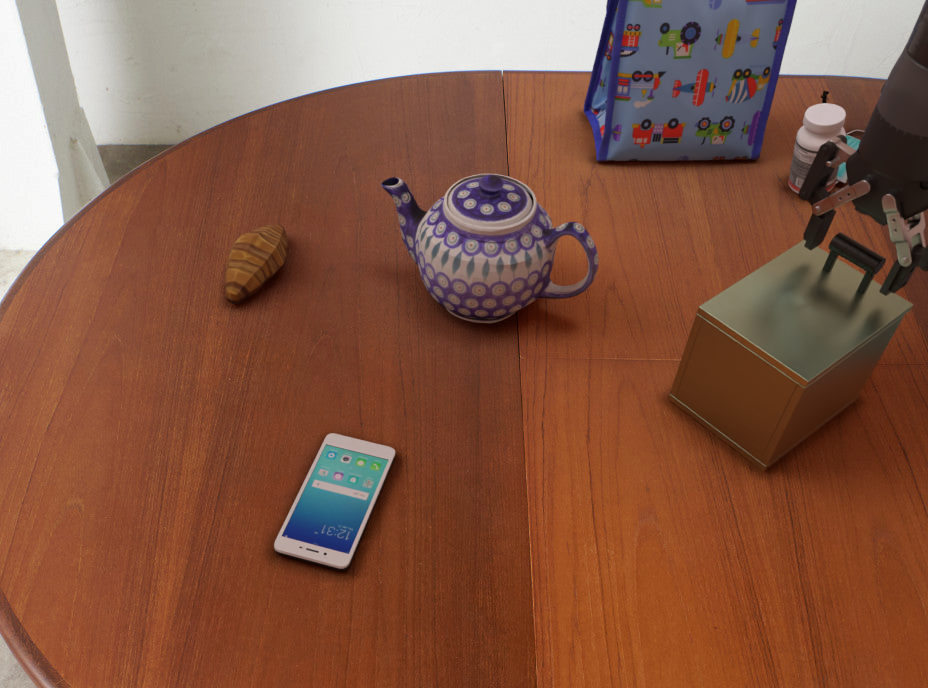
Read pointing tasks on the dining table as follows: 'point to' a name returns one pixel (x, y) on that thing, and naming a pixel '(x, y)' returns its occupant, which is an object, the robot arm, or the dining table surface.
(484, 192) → the teapot
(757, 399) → the waste bin
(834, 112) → the pill bottle
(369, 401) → the dining table surface
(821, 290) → the bin lid
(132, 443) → the dining table surface
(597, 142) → the lunch bag
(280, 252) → the croissant
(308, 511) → the smartphone
